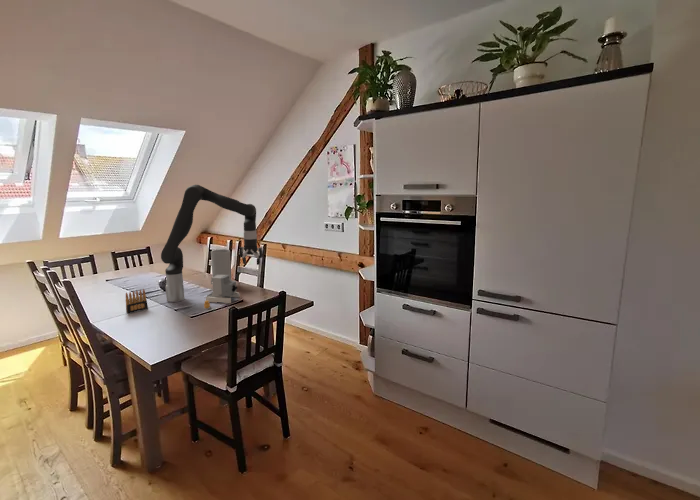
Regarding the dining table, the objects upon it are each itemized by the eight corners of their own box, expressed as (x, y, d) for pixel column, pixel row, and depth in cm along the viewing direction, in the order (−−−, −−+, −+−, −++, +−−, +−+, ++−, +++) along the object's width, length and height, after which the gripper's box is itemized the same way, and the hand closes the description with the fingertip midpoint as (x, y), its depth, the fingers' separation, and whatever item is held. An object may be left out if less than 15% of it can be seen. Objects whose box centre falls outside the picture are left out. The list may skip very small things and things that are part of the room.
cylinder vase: (228, 288, 247) (226, 253, 242) (210, 288, 247) (207, 252, 242) (234, 283, 259) (232, 249, 254) (217, 283, 259) (214, 249, 254)
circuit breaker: (234, 302, 219) (232, 278, 216) (212, 301, 221) (210, 277, 218) (239, 298, 227) (238, 275, 224) (218, 297, 229) (216, 274, 226)
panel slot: (206, 301, 220) (205, 295, 219) (216, 295, 232) (215, 290, 231) (230, 303, 217) (230, 297, 217) (239, 297, 229) (239, 291, 228)
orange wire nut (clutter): (203, 308, 209) (202, 301, 208) (206, 306, 212) (205, 300, 211) (208, 308, 209) (207, 302, 208) (211, 306, 212) (210, 300, 211)
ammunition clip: (127, 313, 200) (125, 293, 197) (126, 312, 201) (123, 292, 199) (148, 308, 208) (146, 288, 205) (146, 308, 209) (144, 288, 207)
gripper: (236, 238, 211) (237, 265, 214) (259, 239, 209) (260, 266, 212) (242, 236, 218) (243, 262, 222) (264, 237, 216) (265, 263, 219)
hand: (251, 264), depth 217 cm, fingers open, 8 cm apart
